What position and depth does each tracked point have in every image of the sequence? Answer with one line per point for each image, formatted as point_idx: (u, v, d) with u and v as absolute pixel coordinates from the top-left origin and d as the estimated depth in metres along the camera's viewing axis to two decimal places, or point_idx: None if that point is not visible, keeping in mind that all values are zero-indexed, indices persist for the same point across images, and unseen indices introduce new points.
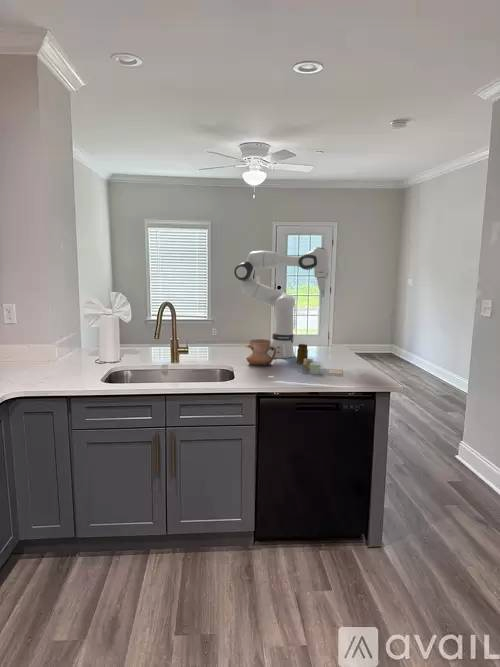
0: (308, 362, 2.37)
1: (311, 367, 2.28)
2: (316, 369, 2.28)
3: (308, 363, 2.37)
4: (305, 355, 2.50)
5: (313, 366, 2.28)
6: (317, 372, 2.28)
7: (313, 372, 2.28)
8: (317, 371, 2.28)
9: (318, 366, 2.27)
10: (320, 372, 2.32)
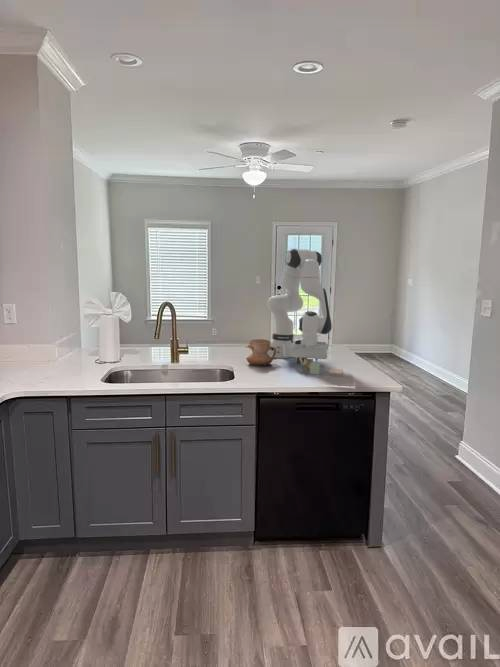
0: (308, 362, 2.37)
1: (311, 367, 2.28)
2: (316, 369, 2.28)
3: (308, 363, 2.37)
4: None
5: (313, 366, 2.28)
6: (317, 372, 2.28)
7: (313, 372, 2.28)
8: (317, 371, 2.28)
9: (318, 366, 2.27)
10: (320, 372, 2.32)
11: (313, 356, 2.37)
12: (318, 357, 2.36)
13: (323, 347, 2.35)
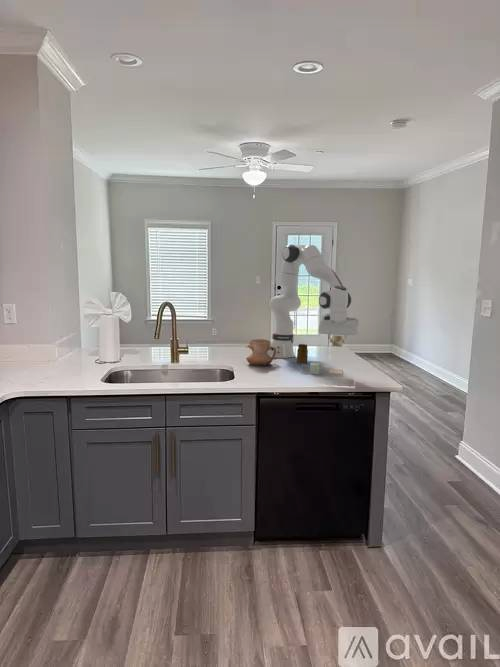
0: (337, 338, 2.28)
1: (311, 367, 2.28)
2: (316, 369, 2.28)
3: (337, 340, 2.28)
4: (305, 355, 2.50)
5: (313, 366, 2.28)
6: (317, 372, 2.28)
7: (313, 372, 2.28)
8: (317, 371, 2.28)
9: (318, 366, 2.27)
10: (320, 372, 2.32)
11: (343, 332, 2.27)
12: (348, 333, 2.27)
13: (353, 323, 2.26)
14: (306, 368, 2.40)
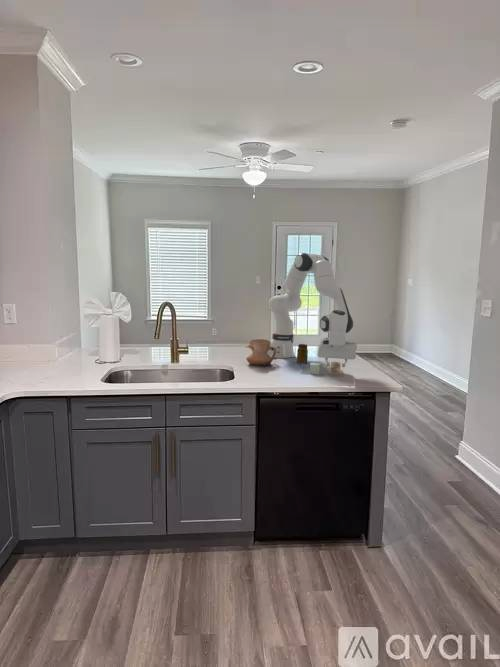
0: (336, 365, 2.30)
1: (311, 367, 2.28)
2: (316, 369, 2.28)
3: (336, 366, 2.30)
4: (305, 355, 2.50)
5: (313, 366, 2.28)
6: (317, 372, 2.28)
7: (313, 372, 2.28)
8: (317, 371, 2.28)
9: (318, 366, 2.27)
10: (320, 372, 2.32)
11: (341, 356, 2.30)
12: (346, 357, 2.29)
13: (352, 347, 2.28)
14: (306, 368, 2.40)
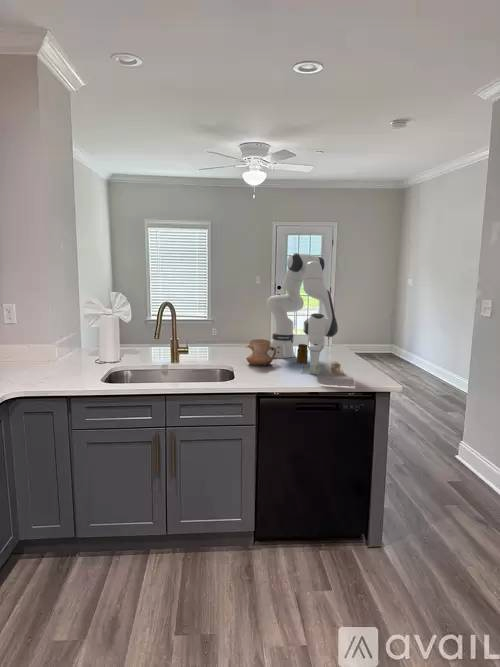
0: (336, 365, 2.30)
1: (311, 367, 2.28)
2: (316, 369, 2.28)
3: (336, 366, 2.30)
4: (305, 355, 2.50)
5: None
6: (317, 372, 2.28)
7: (313, 372, 2.28)
8: (317, 371, 2.28)
9: (318, 366, 2.27)
10: (320, 372, 2.32)
11: None
12: None
13: None
14: (306, 368, 2.40)
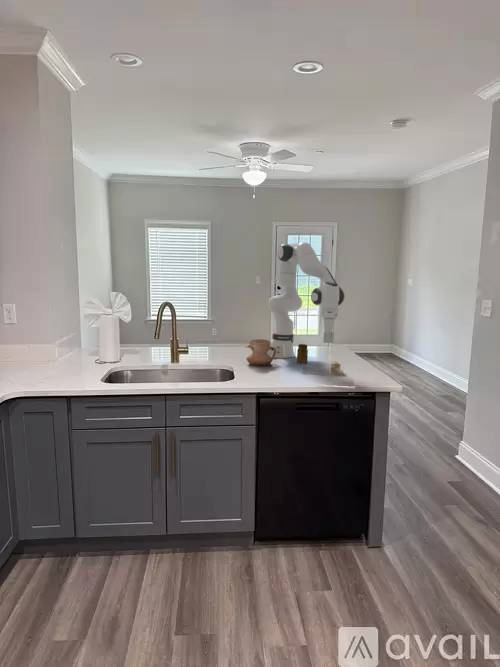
0: (336, 365, 2.30)
1: (325, 336, 2.27)
2: (330, 338, 2.26)
3: (336, 366, 2.30)
4: (305, 355, 2.50)
5: None
6: (331, 341, 2.26)
7: (327, 341, 2.27)
8: (331, 340, 2.26)
9: (332, 335, 2.26)
10: (320, 372, 2.32)
11: None
12: None
13: None
14: (306, 368, 2.40)
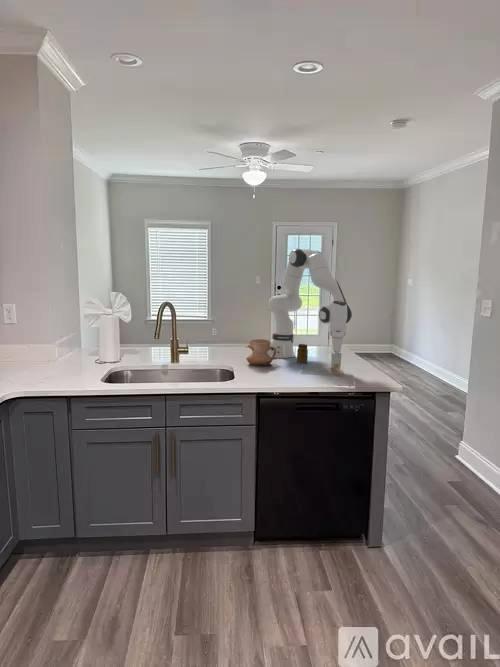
0: (336, 365, 2.30)
1: (333, 357, 2.30)
2: (338, 359, 2.30)
3: (336, 366, 2.30)
4: (305, 355, 2.50)
5: None
6: (339, 362, 2.30)
7: (335, 362, 2.30)
8: (339, 361, 2.30)
9: (340, 356, 2.29)
10: (320, 372, 2.32)
11: None
12: None
13: None
14: (306, 368, 2.40)
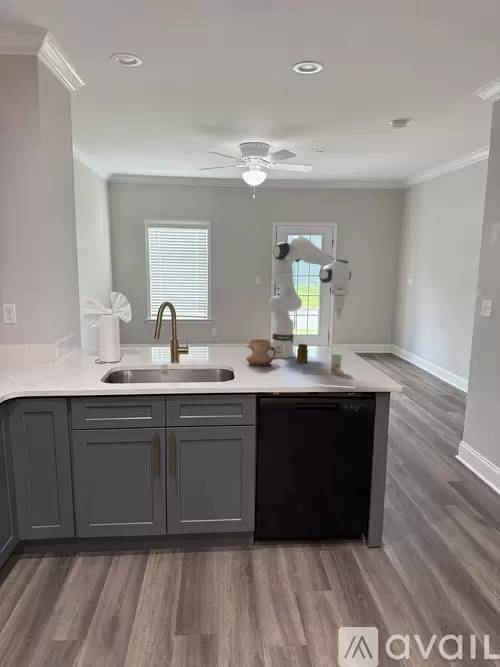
0: (336, 365, 2.30)
1: (333, 357, 2.30)
2: (338, 359, 2.30)
3: (336, 366, 2.30)
4: (305, 355, 2.50)
5: (335, 356, 2.30)
6: (339, 362, 2.30)
7: (335, 362, 2.30)
8: (339, 361, 2.30)
9: (340, 356, 2.29)
10: (320, 372, 2.32)
11: None
12: None
13: None
14: (306, 368, 2.40)
